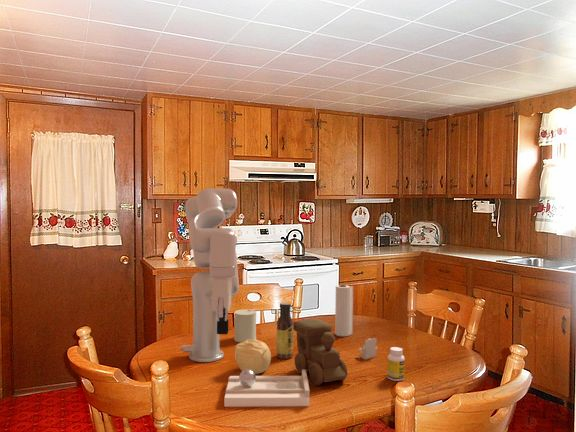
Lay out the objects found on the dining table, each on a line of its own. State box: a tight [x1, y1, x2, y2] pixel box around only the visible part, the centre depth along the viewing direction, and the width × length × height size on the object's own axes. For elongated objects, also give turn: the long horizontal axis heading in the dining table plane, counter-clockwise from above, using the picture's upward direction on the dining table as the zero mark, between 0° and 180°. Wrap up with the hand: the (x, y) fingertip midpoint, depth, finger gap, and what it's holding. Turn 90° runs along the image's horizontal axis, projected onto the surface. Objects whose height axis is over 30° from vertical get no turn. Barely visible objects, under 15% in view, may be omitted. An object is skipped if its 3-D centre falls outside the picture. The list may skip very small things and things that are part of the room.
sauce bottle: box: [275, 302, 294, 360], centre depth 171 cm, size 7×6×20 cm
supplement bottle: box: [386, 346, 406, 382], centre depth 151 cm, size 5×5×10 cm
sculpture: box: [234, 339, 272, 375], centre depth 156 cm, size 12×12×11 cm
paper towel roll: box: [334, 284, 354, 337], centre depth 198 cm, size 7×6×21 cm
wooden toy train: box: [292, 318, 348, 387], centre depth 152 cm, size 20×11×17 cm, turn 26°
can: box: [233, 308, 257, 343], centre depth 191 cm, size 9×9×12 cm
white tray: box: [223, 370, 311, 408], centre depth 138 cm, size 24×16×4 cm, turn 92°
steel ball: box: [238, 369, 257, 387], centre depth 137 cm, size 5×5×5 cm
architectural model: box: [358, 337, 379, 360], centre depth 172 cm, size 3×7×7 cm, turn 124°
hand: (222, 333), depth 137 cm, fingers closed
